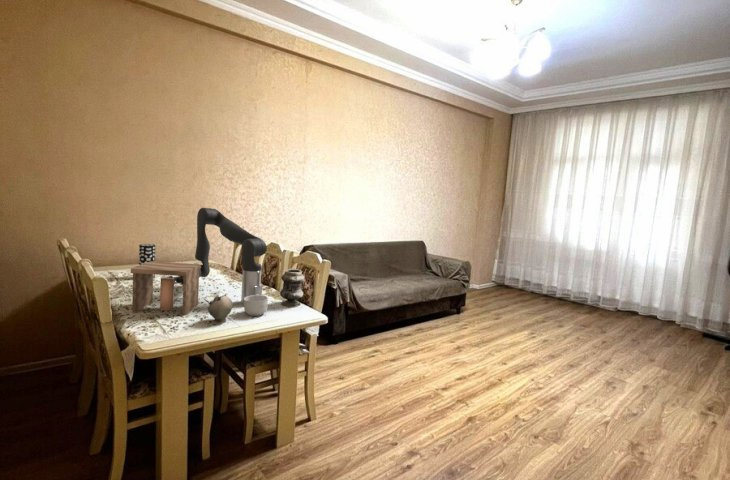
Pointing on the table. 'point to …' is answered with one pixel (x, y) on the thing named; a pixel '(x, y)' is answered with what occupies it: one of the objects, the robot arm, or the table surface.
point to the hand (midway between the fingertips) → (175, 283)
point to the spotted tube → (146, 254)
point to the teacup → (255, 304)
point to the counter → (146, 271)
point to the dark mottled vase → (292, 287)
